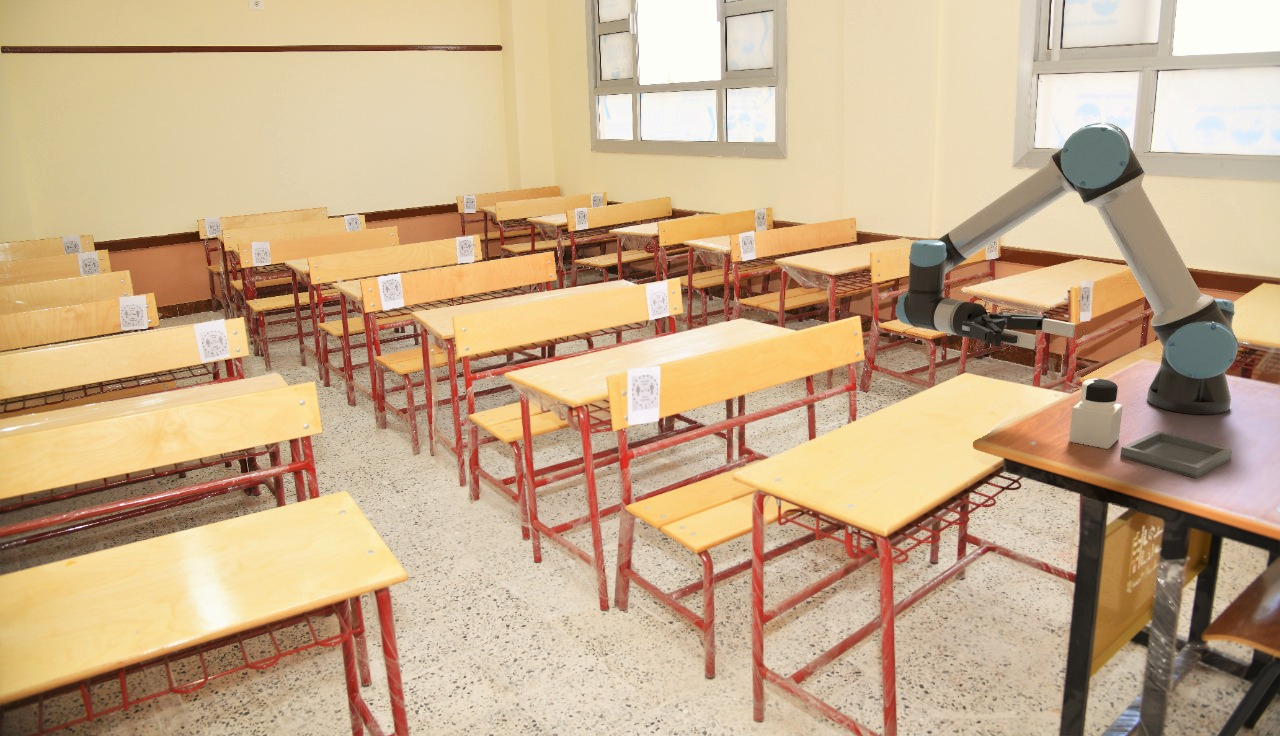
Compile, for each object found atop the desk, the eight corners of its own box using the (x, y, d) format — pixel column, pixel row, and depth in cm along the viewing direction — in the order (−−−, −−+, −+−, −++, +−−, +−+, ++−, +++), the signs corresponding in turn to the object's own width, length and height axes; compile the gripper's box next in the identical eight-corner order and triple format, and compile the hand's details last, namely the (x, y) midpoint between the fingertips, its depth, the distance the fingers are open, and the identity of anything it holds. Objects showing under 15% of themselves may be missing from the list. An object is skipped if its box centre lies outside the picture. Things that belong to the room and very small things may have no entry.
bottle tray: (1156, 440, 170) (1157, 430, 169) (1230, 460, 160) (1232, 449, 159) (1120, 457, 163) (1121, 446, 162) (1195, 478, 153) (1197, 467, 152)
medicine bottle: (1119, 439, 172) (1126, 379, 168) (1108, 450, 167) (1115, 389, 163) (1079, 431, 176) (1085, 374, 173) (1068, 442, 171) (1074, 382, 168)
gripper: (995, 326, 199) (1087, 343, 182) (923, 345, 185) (1015, 366, 168) (997, 293, 196) (1091, 308, 180) (925, 310, 183) (1018, 327, 166)
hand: (1054, 336), depth 174 cm, fingers open, 13 cm apart
